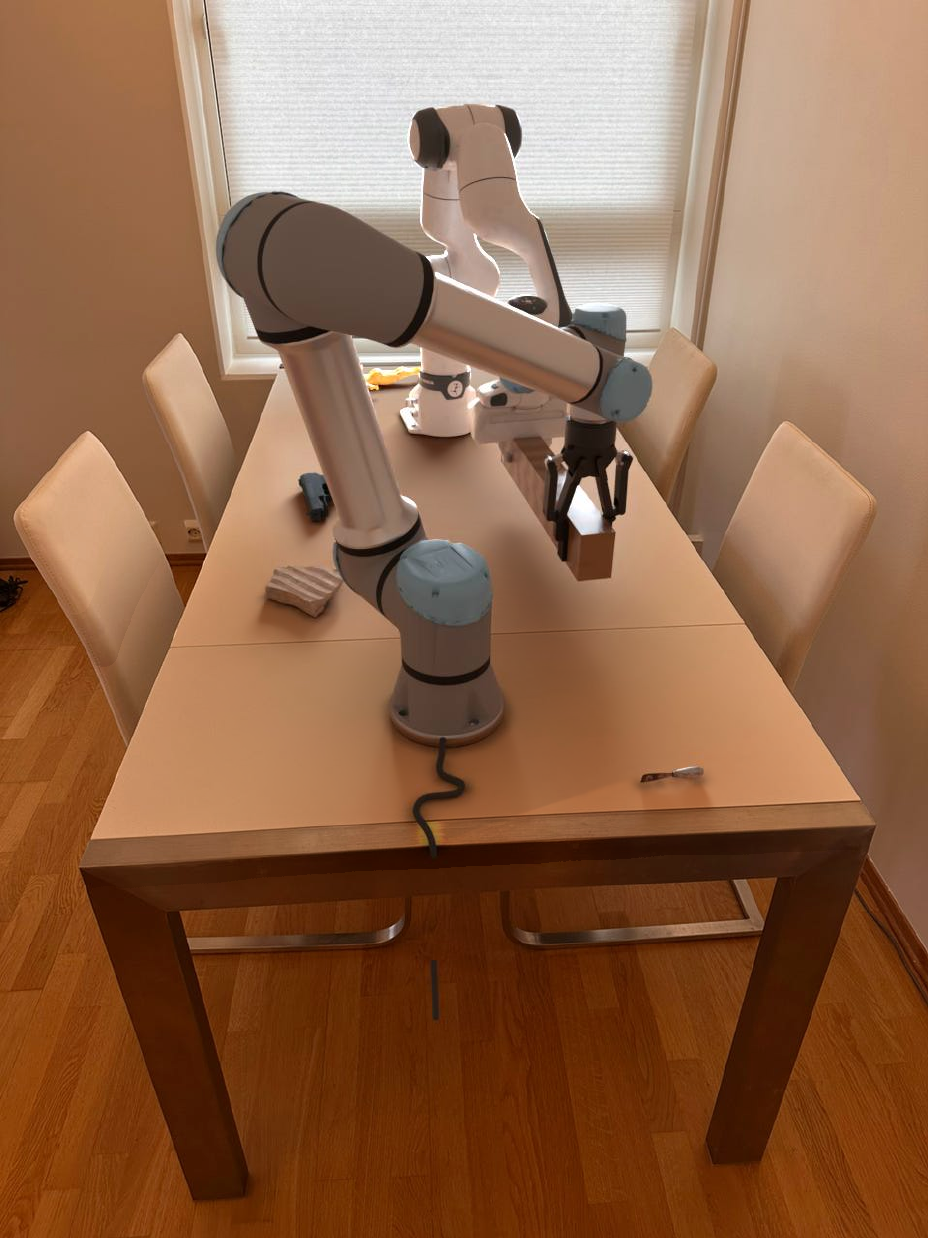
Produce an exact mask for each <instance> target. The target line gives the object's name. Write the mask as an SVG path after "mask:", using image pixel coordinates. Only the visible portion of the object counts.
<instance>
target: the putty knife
mask: <svg viewBox="0 0 928 1238" xmlns="http://www.w3.org/2000/svg"><path fill="white" fill-rule="evenodd" d="M704 772H705V771H704V768H702V767H701V766H697V765H695V766H688V767H683V768H679V769H675V770H673V771H671V772H653V773H652V772H651V773H650V772H649V773H644V774H642V776H641V779H640V783H642V784H645V783H648V782H653V781H659V780H665V779H668V778H673V779H674V778H675V779H693V778H694V779H695V778H700V777H702V776H703V775H704Z"/></svg>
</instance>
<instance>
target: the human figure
mask: <svg viewBox="0 0 928 1238" xmlns="http://www.w3.org/2000/svg"><path fill="white" fill-rule="evenodd" d="M360 364H361V367H362V370H364V366H363V365H362V364H363V362H361V361H360ZM419 367H420V366H417V367H404V366H399V367H398V368H396V369H394V370H390V369H389V370H388V369H383V370H382V369H380V368H373V369H371V370H370V371H369V372H368V373H367V374H366V373H364V376H365V380H366V383H367V386H368V389H369V391H370V390H371V391H372V390H374V389H375V390H376V391H379V389H380V388H379V385H380V386H382V385H383V386H388V385H390V384H393V383H395V382H396V381H399V380H402V379H404V378H408V377H411V376H414V375H417V376H418V377H419V373H420V369H421V368H419Z"/></svg>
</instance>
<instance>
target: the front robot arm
mask: <svg viewBox="0 0 928 1238" xmlns="http://www.w3.org/2000/svg"><path fill="white" fill-rule="evenodd" d="M215 257H216V262H217V266H218V268H219V271H220V274H221V276H222V277H223V279H224V281H225V282H226V284H227V285H228V287H229V288H230V289H231V290H232V292H233V293H235V294H236V295H237V296H239V297H240V298H241V299H243V301H244V304H245V307H246V309H247V312H248V315H249V317H250V320H251V322H252V326H253V328H254V330H255V332H256V335H257V338H258V340H259V342H260V343H262V344H263V345H265V346H267V347H269V348H271V349H274V350H276V351H277V353H278V355H279V359H280V361H281V364H282V366H283V369H284V372H285V375H286V377H287V380H288V383H289V385H290V388H291V391H292V394H293V396H294V399H295V402H296V404H297V407H298V410H299V413H300V416H301V418H302V420H303V421H302V422H303V423H304V426H305V428H306V429H305V430H306V431H307V434H308V437H309V439H310V442H311V445H312V447H313V451H314V453H315V456H316V458H317V461H318V463H319V464H318V465H319V466H320V469H321V472H322V475H324V477H325V480H326V483H327V486H328V488H329V491H330V494H331V496H332V499H333V501H332V502H333V505H334V507H335V509H336V512H337V515H338V517H337V518H336V519H335V522H334V523H333V526H332V534H333V537H334V541H333V543H332V560H333V563H334V566H335V569H337V571H338V574H339V575H340V576H341V577H342V579H343V581H344V582H343V583H344V584H345V585H346V586H347V587H348V588H349V589H350V590H351V591H352V592H353V593H355V594H356V595H358V596H359V597H361V598H362V599H363V600H364V601H365V602H367V603H368V604H369V605H370V606H371V607H373V608H374V609H375V610H376V611H377V612H378V613H379V614H381V615H382V616H383V617H384V618H385V619H386V620H387V621H388V622H389V623H391V624H392V625H393V626H394V627H395V628H396V629H397V630H398V633H399V636H400V655H401V667H400V669H399V672H398V675H397V678H396V681H395V684H394V687H393V690H392V693H391V695H390V700H389V706H390V718H391V721H392V724H393V725H394V727H395V728H396V729H397V731H398V732H399V733H400V734H402V735H403V736H404V737H406V738H407V739H409V740H411V741H413V742H415V743H417V744H420V745H421V744H422V745H425V746H430V747H437V748H438V755H437V759H436V762H435V771H436V773H437V775H438V776H439V778H441V779H442V780H444V781H446V782H448V783H451V784H453V785H456V786H458V787H457V788H456V789H454V790H449V791H437V792H430V793H425V794H422V795H420V796H419V797H418V798H417V799H416V800H415V802H414V804H413V807H412V815H413V817H414V819H415V821H416V823H417V824H418V825H419V827H420V828H421V829H422V831H423V833H424V835H425V837H426V839H427V843H428V849H429V857H430V858H431V859H436V858H437V857H438V850H437V843H436V838H435V835H434V832H433V830H432V828H431V827H430V826H429V824H428V822H427V821H426V820H425V819H424V817H423V816H422V814H421V810H420V809H421V807H422V806H423V804H425V803H426V802H429V801H433V800H444V799H445V800H446V799H453V798H457V797H459V796H460V797H461V795H462V794H463V793H464V792H465V790H466V783H465V781H464V780H463V779H461V778H459V777H457V776H454V775H451V774H450V773H447V772H445V770H444V769H443V768H444V761H445V758H446V748H454V747H455V748H457V747H463V746H467V745H471V744H473V743H476V742H480V741H481V740H483V739H485V738H486V737H488V736H489V735H491V734H492V733H493V732H494V731H495V730H496V729H498V727H499V726H500V724H501V722H502V720H503V717H504V702H505V701H504V696H503V695H504V694H503V693H502V690H501V687H500V685H499V682H498V679H497V677H496V674H495V672H494V668H493V666H492V664H491V654H492V653H491V651H492V649H491V648H492V647H491V645H492V611H493V610H492V608H493V607H492V605H493V599H494V590H493V583H492V574H491V568H490V566H489V564H488V563H487V560H486V559H485V558H484V556H482V555H481V554H480V553H479V551H477V550H476V549H474V548H472V547H471V546H469V545H467V544H465V543H462V542H458V541H456V542H454V543H452V542H451V541H450V540H449V539H440V538H439V539H428V537H427V535H426V532H425V529H424V525H423V522H422V519H421V516H420V511H419V509H418V506H417V504H416V503H415V502H414V501H413V500H411V499H410V498H408V497H406V496H403V495H402V493H401V490H400V486H399V484H398V480H397V476H396V473H395V471H394V466H393V465H392V461H391V457H390V454H389V452H388V447H387V444H386V442H385V438H384V436H383V432H382V429H381V425H380V422H379V418H378V416H377V411H376V409H375V406H374V402H373V400H372V396H371V393H370V389H369V388H368V386H367V383H366V380H365V376H364V374H365V373H364V371H363V370H364V369H363V370H362V367H361V365H362V364H361V361H360V358H359V354H358V351H357V347H356V345H355V341H354V338H353V337H357V338H362V339H365V340H369V341H373V342H376V343H379V344H381V345H384V346H387V347H390V348H392V349H401V348H404V347H406V346H409V344H410V345H413V346H415V347H418V348H420V347H421V348H423V349H426V350H429V351H431V352H434V353H437V354H439V355H442V356H445V357H447V358H450V359H453V360H455V361H458V362H461V363H463V364H466V365H469V367H470V368H471V367H472V368H474V369H477V370H478V371H479V370H480V371H483V372H484V373H487V374H490V375H492V376H496V377H498V379H499V378H500V380H501V382H502V384H503V386H504V387H505V388H506V389H507V390H508V391H509V392H511V393H513V394H522V393H527V394H529V393H532V392H533V391H538V392H541V393H543V394H546V395H549V396H551V397H554V398H557V399H559V400H562V401H565V402H567V413H568V414H569V415H568V416H567V417H566V425H565V437H564V444H563V446H562V448H561V450H560V453H558V454H555V456H552V457H550V456H549V455H546V456H545V457H544V458H543V461H544V464H545V468H546V477H545V487H544V498H543V509H542V513H543V515H544V516H545V518H546V519H547V521H554V523H553V537H554V539H555V540H556V542H557V541H558V549H557V548H556V554H557V557H558V558H559V560H560V561H561V562H562V563H564V562H565V563H566V561H567V548H568V534H569V523H568V522H567V520H566V516H567V514H568V511H569V508H570V505H571V503H572V500H573V497H574V494H575V492H576V489H577V486H578V485H579V486H580V484H581V482H582V480H583V479H585V478H587V477H588V478H589V477H592V478H594V479H595V483H596V484H595V485H596V488H597V493H598V498H599V503H600V507H601V512H602V515H603V516H604V518H605V519H606V520H607V522H608V523H609V524H610V525H611V527H612V528H613V523H614V522H615V521H616V520H617V516H624V515H625V514H626V513H627V499H628V485H629V470H630V468H631V466H632V464H633V461H634V457H633V455H632V454H631V453H630V452H629V451H628V450H627V449H622V450H620V449H617V447H616V438H617V429H618V423H622V424H625V423H629V422H631V421H634V420H635V419H637V418H638V417H639V416H640V415H642V413H644V411H645V409H646V408H647V406H648V403H649V402H650V398H651V397H652V393H653V378H652V375H651V372H650V370H649V369H648V368H647V367H646V365H644V364H643V363H641V362H639V361H636V360H634V359H632V358H631V357H628V356H625V352H626V351H625V349H626V342H627V340H628V339H627V313H626V311H625V310H624V309H623V308H622V307H620V306H618V305H615V304H611V303H600V302H594V303H593V302H591V303H584V304H583V303H582V304H580V305H579V306H576V307H575V308H574V309H573V311H572V313H573V318H572V320H571V323H572V325H569V326H566V327H562V328H557V327H555V326H553V325H551V324H549V323H546V322H544V321H542V320H540V319H538V318H535V317H533V316H531V315H529V314H527V313H524V312H522V311H520V310H518V309H516V308H513V307H511V306H509V305H507V304H506V303H505V302H502V301H500V300H498V299H496V298H495V297H494V298H492V297H489V296H487V295H485V294H483V293H481V292H478V291H476V290H474V289H472V288H470V287H468V286H465V285H463V284H461V283H459V282H457V281H454V280H452V279H450V278H448V277H446V276H443V275H441V274H439V273H437V272H435V269H434V266H433V264H432V262H431V260H430V259H429V258H428V257H427V256H426V255H424V254H423V253H421V252H419V251H417V250H415V249H412V248H410V247H408V246H406V245H404V244H403V243H401V242H400V241H398V240H396V239H395V238H393V237H390V236H389V235H388V234H385V233H384V232H383V231H380V229H379V230H378V229H377V228H376V227H374V226H372V225H371V224H369V223H368V222H366V221H364V220H363V219H361V218H359V217H357V216H356V215H354V214H352V213H350V212H349V211H347V210H346V209H344V208H341V207H339V206H335V205H333V204H329V203H324V202H320V201H316V200H315V201H314V200H310V199H305V198H302V197H299V196H297V195H296V194H293V193H290V192H286V191H282V190H281V191H276V190H273V191H261V192H260V191H259V192H255V193H252V194H249V195H247V196H244V197H243V198H241V199H240V200H238V201H237V202H236V203H235V204H233V205H232V206H231V207H230V208H229V210H228V211H227V212H226V214H224V217H223V219H222V221H221V223H220V225H219V229H218V231H217V234H216V239H215ZM613 461H614V463H615V470H614V471H615V473H614V486H613V488H614V489H613V502H612V496H611V492H610V487H609V482H608V481H609V478H608V472H607V469H608V467H609V466H610V465H611V464H612V462H613ZM561 463H562V464H563V463H564V464H565V465H566V466H567V472H566V479H565V482H564V485H563V488H562V490H561V493H560V496H559V499H558V502H557V504H556V507H555V502H556V492H557V483H558V472H557V471H559V470H560V468H561ZM429 961H430V984H431V985H430V986H431V1010H432V1011H431V1012H432V1020H433V1021H434V1022H435V1021H437V1022H438V1021H439V1019H440V1003H439V973H438V972H439V970H438V960H437V959H431V958H430V960H429Z"/></svg>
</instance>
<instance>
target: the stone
mask: <svg viewBox="0 0 928 1238" xmlns="http://www.w3.org/2000/svg"><path fill="white" fill-rule="evenodd" d="M343 583H345V582H344V581H343V579H342V577H341V576H340V575H339V573H338V571H337V569H336V568H335V569H331V568H328V567H325V566H321V565H310V566H300V565H287V566H283V567H282V566H277V567H275V568H274V570H273V573H272V574H271V578H270V581H269V583H267V584H266V585H265V587H264V588H265V593H264V597H265V598H266V599H269V600H273V601H277V602H278V603H280V604H288V605H291V606H294V607H296V608H298V609H300V610H301V611H302V612H305V614H307V615H309V616H310V617H314V618H317V617H318V615H319V614H321V613H322V612H323V611H324V609H325V606H326V604H327V602H328V601H329V600H330V599H331V598H332V596H334V595H335V594H337V593H338V591H340V589H341V587H342V585H343Z"/></svg>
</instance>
